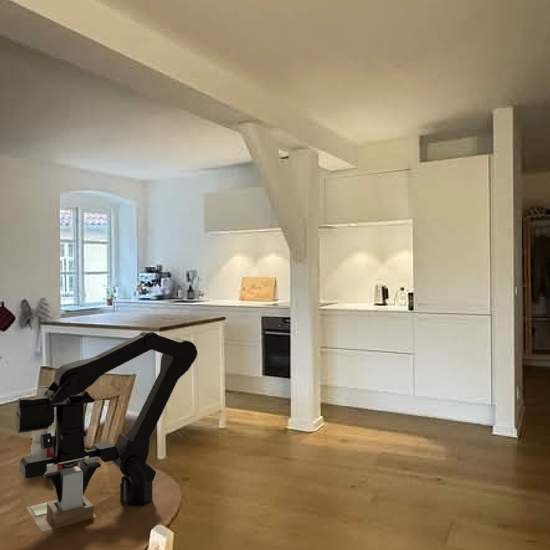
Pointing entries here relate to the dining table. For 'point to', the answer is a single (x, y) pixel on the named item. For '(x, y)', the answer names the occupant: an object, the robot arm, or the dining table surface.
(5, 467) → the dining table surface
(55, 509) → the brown slotted holder
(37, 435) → the plastic bottle
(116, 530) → the dining table surface
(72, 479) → the block
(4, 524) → the dining table surface
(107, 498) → the dining table surface
